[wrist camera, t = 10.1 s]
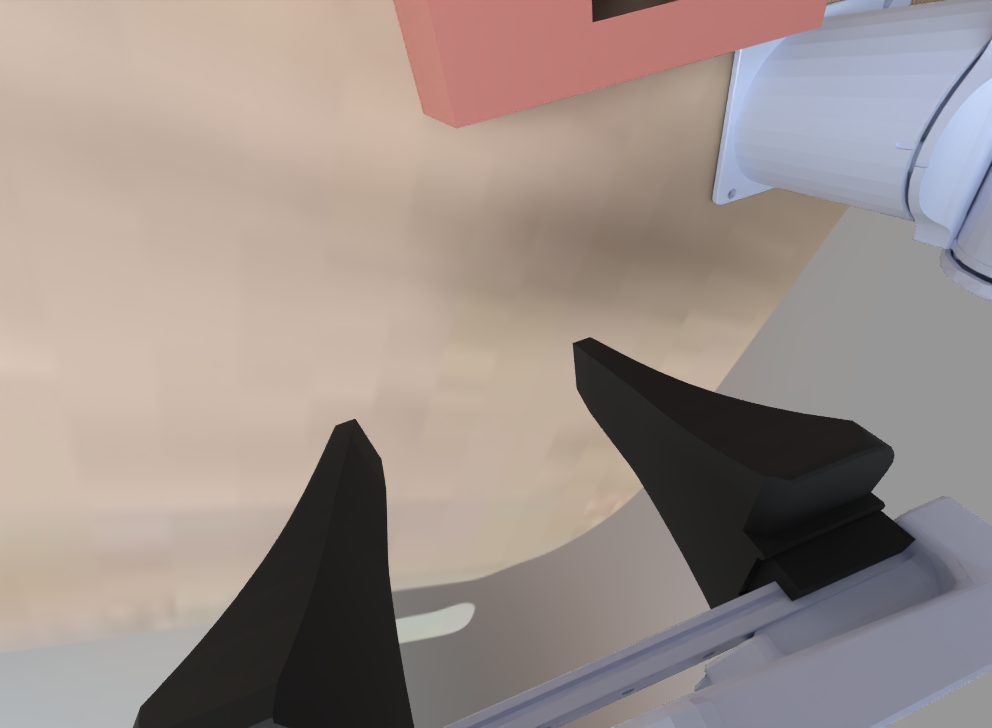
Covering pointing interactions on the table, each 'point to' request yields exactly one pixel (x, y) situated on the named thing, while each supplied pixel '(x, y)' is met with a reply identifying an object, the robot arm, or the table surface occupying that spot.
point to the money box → (570, 46)
